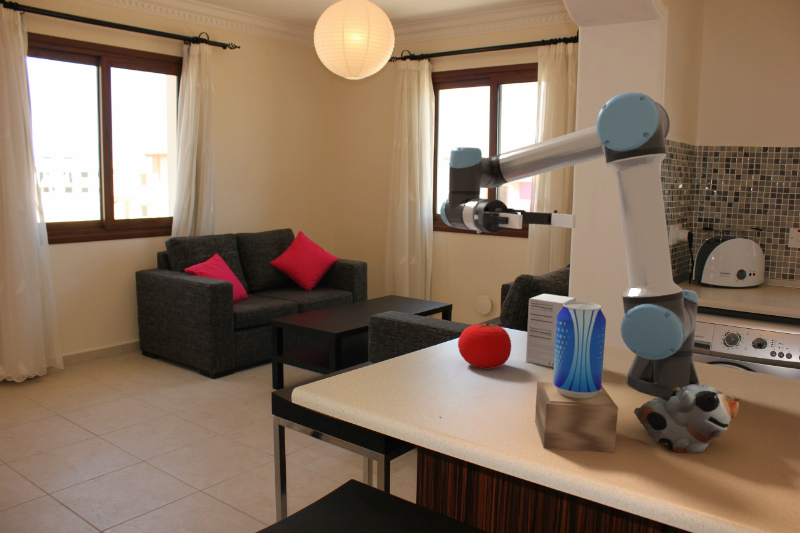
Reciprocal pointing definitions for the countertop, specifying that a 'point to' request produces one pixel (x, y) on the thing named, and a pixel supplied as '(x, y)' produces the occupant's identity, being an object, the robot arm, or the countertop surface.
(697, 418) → the lucky cat figurine
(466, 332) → the tomato
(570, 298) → the supplement box
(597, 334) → the beer can
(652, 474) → the countertop surface
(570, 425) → the block
